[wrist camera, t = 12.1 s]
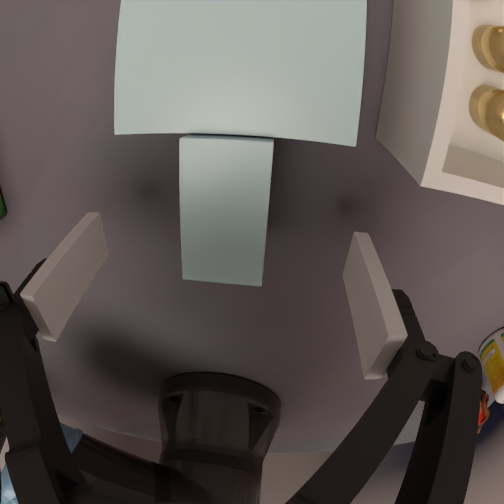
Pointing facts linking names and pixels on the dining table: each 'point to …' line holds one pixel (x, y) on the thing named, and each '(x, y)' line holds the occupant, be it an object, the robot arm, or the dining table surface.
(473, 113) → the brass parts
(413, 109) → the tub
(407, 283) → the dining table surface
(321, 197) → the dining table surface
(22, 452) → the robot arm
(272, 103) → the lid
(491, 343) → the supplement bottle
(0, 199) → the chalk box
